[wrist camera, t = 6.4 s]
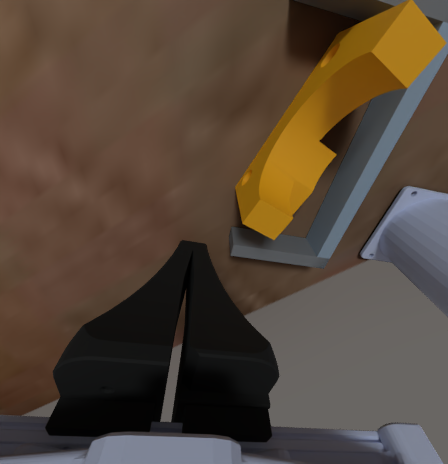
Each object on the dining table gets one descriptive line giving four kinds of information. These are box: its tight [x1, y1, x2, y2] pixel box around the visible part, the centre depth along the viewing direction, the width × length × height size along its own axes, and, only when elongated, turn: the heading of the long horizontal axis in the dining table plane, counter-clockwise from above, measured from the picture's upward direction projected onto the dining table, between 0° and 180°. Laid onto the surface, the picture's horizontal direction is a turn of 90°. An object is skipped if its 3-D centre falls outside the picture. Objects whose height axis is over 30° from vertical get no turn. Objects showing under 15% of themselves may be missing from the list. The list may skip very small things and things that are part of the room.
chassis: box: [229, 0, 448, 269], centre depth 17 cm, size 9×18×3 cm, turn 169°
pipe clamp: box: [235, 0, 447, 240], centre depth 15 cm, size 12×4×6 cm, turn 148°
